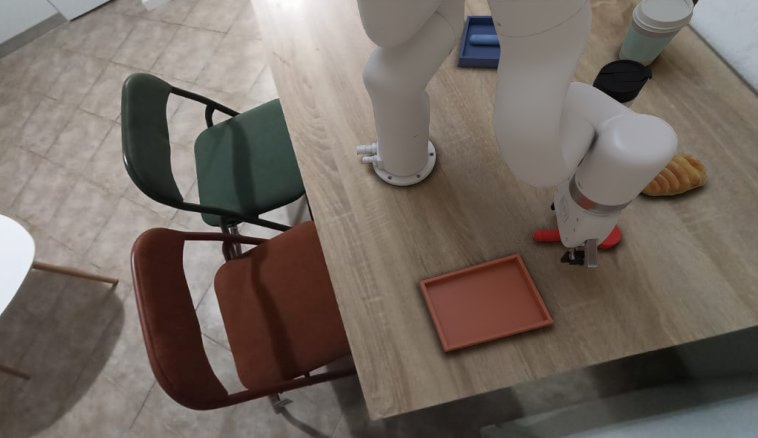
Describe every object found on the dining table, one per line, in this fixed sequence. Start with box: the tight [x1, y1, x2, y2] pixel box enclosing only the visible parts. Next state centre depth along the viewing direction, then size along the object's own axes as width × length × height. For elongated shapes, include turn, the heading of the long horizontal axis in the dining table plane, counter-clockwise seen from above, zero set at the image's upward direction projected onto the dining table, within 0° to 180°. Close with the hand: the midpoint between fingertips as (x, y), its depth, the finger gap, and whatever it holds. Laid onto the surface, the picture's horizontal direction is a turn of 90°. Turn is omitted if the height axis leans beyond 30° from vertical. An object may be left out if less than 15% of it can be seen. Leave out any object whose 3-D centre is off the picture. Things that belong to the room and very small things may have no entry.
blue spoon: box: [469, 35, 500, 45], centre depth 94 cm, size 13×4×2 cm, turn 73°
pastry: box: [640, 153, 707, 197], centre depth 74 cm, size 9×7×4 cm
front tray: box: [419, 252, 554, 353], centre depth 74 cm, size 17×12×2 cm
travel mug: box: [580, 59, 653, 162], centre depth 73 cm, size 6×7×20 cm
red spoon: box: [532, 225, 622, 249], centre depth 75 cm, size 13×4×2 cm, turn 85°
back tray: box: [457, 15, 501, 69], centre depth 94 cm, size 17×12×2 cm
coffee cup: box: [618, 0, 695, 67], centre depth 81 cm, size 8×8×12 cm
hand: (565, 234), depth 75 cm, fingers open, 9 cm apart
